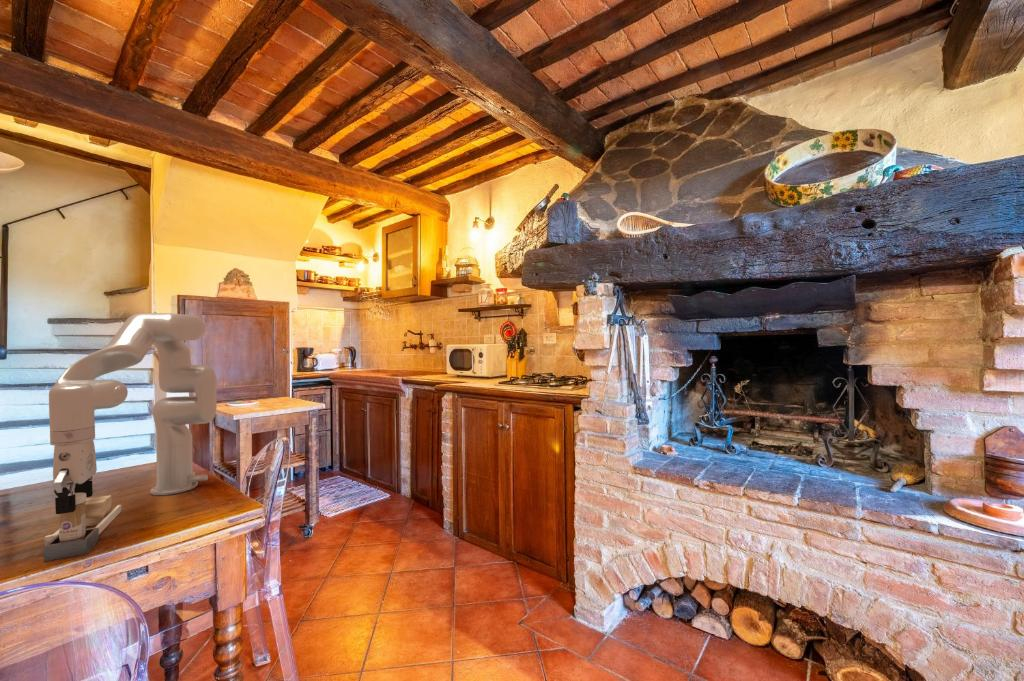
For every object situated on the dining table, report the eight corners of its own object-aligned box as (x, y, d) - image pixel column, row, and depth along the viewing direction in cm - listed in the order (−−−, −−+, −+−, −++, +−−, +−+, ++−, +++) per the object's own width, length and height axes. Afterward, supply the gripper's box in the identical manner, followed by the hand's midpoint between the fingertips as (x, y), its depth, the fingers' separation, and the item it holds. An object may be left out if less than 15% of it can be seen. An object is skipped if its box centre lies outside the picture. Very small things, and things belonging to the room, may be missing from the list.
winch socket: (98, 541, 105) (98, 527, 105) (86, 553, 99) (86, 539, 99) (58, 548, 102) (58, 533, 102) (43, 561, 95) (43, 546, 95)
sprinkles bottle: (55, 557, 97) (55, 500, 97) (63, 548, 101) (63, 493, 101) (82, 552, 100) (82, 496, 100) (89, 544, 104) (89, 490, 104)
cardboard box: (111, 515, 120) (111, 494, 120) (103, 523, 115) (103, 502, 115) (82, 520, 117) (82, 498, 117) (73, 528, 112) (73, 506, 112)
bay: (121, 511, 124) (121, 501, 124) (92, 541, 105) (92, 529, 105) (81, 517, 119) (81, 506, 119) (44, 549, 101) (44, 537, 101)
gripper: (78, 442, 95) (81, 515, 95) (107, 426, 110) (109, 489, 110) (31, 446, 91) (34, 523, 92) (68, 429, 106) (69, 494, 107)
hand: (75, 504), depth 101 cm, fingers open, 9 cm apart
